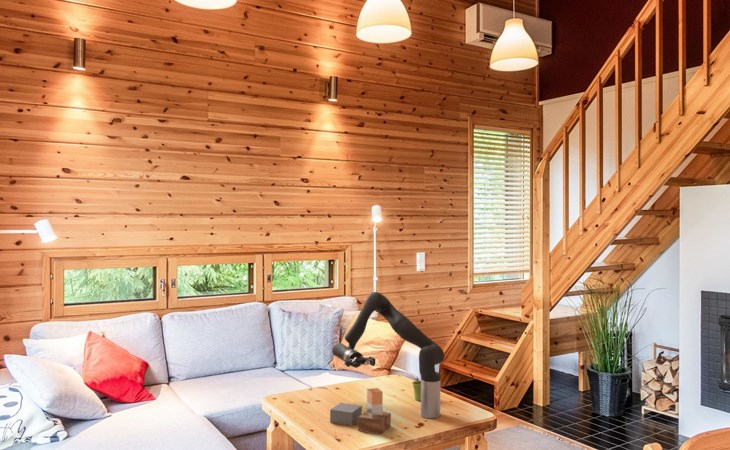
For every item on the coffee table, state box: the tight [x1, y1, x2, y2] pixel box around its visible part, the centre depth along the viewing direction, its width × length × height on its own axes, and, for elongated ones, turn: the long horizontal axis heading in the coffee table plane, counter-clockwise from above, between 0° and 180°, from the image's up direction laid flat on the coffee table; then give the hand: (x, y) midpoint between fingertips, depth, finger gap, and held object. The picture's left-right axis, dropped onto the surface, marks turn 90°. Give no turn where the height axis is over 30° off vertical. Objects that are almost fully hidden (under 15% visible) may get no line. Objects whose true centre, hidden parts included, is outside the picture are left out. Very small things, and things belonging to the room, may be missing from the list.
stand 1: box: [329, 402, 363, 427], centre depth 276 cm, size 11×11×6 cm
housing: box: [366, 387, 383, 418], centre depth 265 cm, size 5×6×11 cm
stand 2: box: [357, 410, 392, 435], centre depth 265 cm, size 11×11×6 cm
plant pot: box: [411, 380, 421, 402], centre depth 308 cm, size 9×9×9 cm
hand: (365, 364), depth 277 cm, fingers open, 8 cm apart
